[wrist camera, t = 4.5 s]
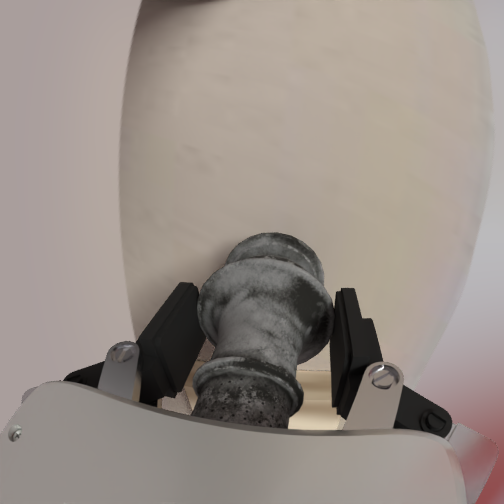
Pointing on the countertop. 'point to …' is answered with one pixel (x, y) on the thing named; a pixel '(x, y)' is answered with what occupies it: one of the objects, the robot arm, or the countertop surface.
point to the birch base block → (314, 405)
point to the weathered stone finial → (261, 331)
